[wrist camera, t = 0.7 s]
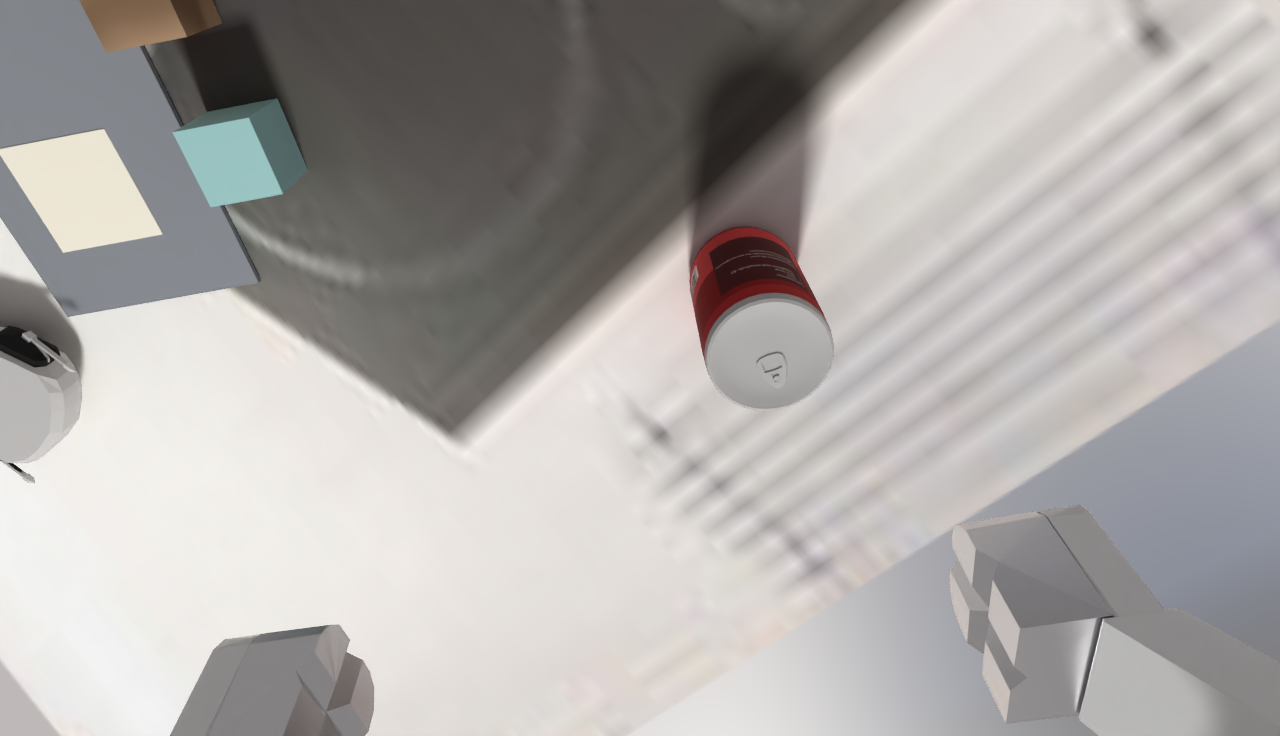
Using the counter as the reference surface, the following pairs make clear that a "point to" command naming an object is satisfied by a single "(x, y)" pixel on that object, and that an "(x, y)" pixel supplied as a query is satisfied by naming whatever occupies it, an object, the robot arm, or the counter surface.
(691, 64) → the counter surface
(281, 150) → the teal block
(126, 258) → the mat
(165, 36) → the walnut block
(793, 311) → the canned food
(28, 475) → the robot toy
